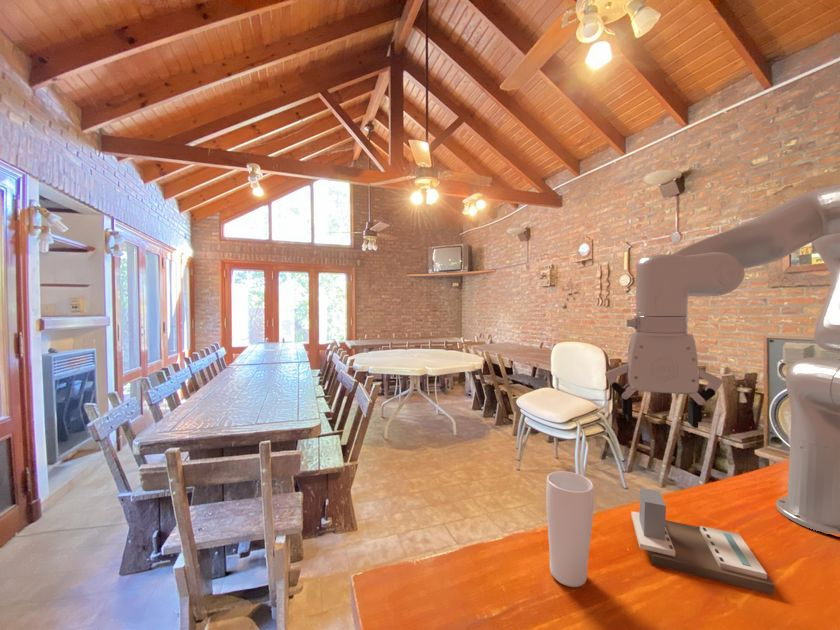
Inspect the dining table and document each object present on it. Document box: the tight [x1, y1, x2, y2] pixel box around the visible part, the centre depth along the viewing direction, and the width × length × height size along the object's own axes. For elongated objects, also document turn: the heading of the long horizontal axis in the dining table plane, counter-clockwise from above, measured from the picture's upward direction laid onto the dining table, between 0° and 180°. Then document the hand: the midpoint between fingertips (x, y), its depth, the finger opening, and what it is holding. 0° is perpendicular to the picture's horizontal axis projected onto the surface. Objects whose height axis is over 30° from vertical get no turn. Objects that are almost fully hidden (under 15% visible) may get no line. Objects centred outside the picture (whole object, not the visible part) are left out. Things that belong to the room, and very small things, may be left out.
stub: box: [630, 487, 675, 557], centre depth 63 cm, size 10×5×7 cm, turn 156°
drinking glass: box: [545, 470, 595, 588], centre depth 55 cm, size 7×7×15 cm
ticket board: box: [647, 519, 776, 596], centre depth 60 cm, size 12×15×2 cm
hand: (659, 422), depth 64 cm, fingers open, 9 cm apart
